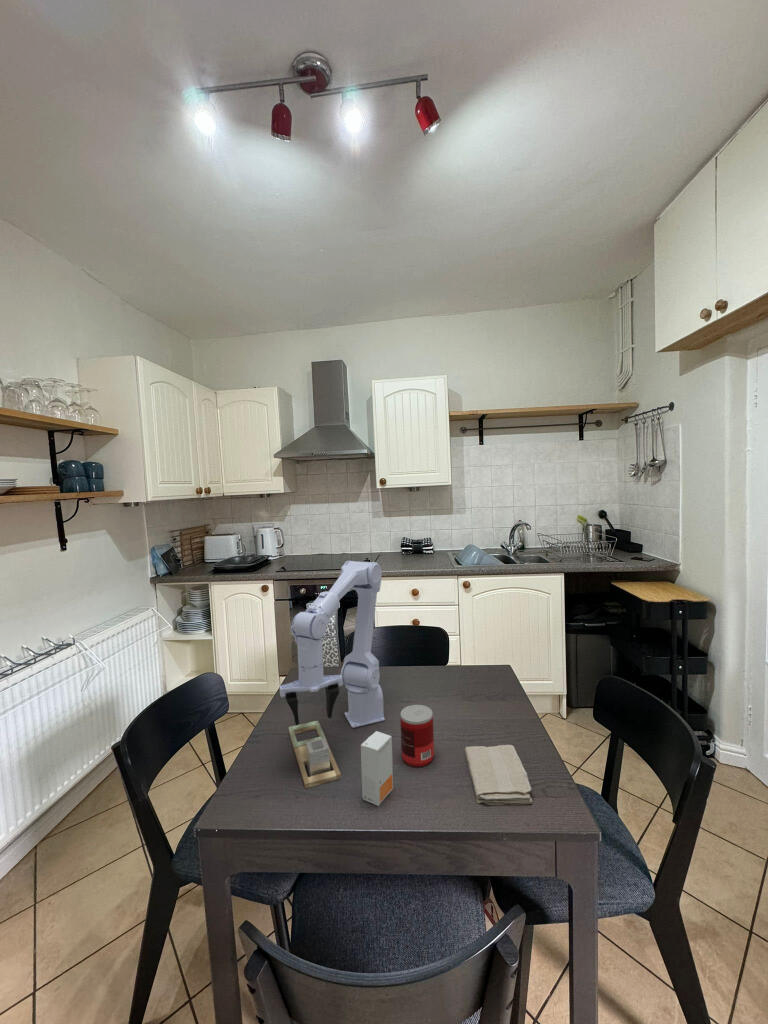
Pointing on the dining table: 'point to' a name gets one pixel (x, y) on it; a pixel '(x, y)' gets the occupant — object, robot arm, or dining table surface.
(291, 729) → the wooden peg board
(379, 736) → the skincare box
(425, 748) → the canned food
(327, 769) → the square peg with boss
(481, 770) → the washcloth
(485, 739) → the dining table surface
